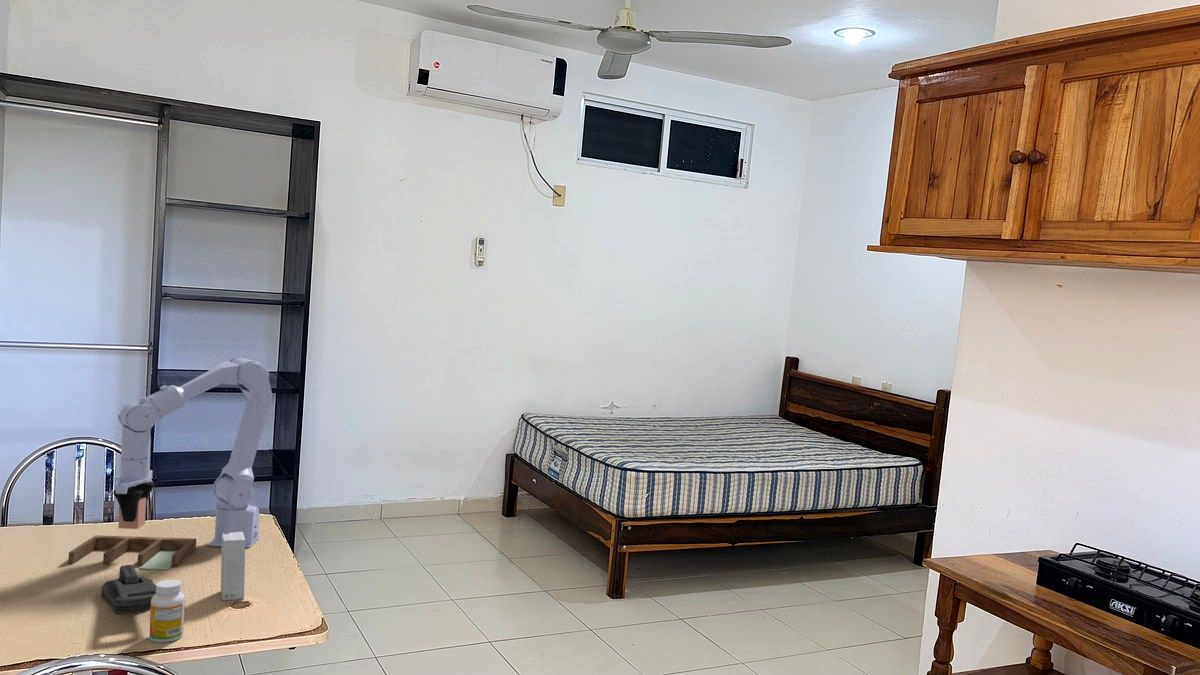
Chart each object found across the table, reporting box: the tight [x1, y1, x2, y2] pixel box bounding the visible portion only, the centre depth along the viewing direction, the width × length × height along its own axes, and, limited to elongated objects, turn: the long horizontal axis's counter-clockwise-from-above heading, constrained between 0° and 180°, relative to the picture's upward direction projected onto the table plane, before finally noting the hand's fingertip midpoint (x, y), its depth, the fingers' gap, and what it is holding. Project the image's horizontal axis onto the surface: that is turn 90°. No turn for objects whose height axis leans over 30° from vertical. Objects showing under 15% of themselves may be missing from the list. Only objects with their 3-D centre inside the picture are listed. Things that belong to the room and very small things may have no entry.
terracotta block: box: [118, 497, 147, 530], centre depth 193 cm, size 4×4×6 cm
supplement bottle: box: [149, 579, 186, 643], centre depth 154 cm, size 5×5×10 cm
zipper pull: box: [100, 564, 157, 615], centre depth 165 cm, size 9×7×25 cm
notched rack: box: [68, 534, 197, 571], centre depth 193 cm, size 22×14×2 cm, turn 97°
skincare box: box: [220, 532, 246, 601], centre depth 176 cm, size 6×4×12 cm
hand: (133, 518), depth 193 cm, fingers closed on terracotta block, 4 cm apart
